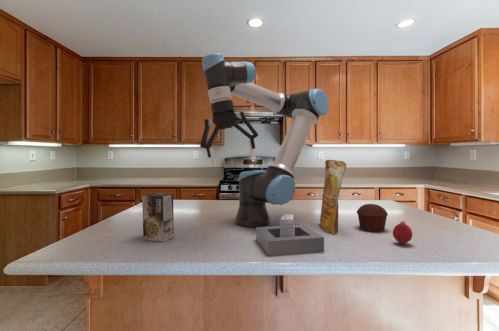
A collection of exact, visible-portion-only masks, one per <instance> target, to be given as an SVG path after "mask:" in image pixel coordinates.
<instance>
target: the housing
mask: <svg viewBox="0 0 499 331" xmlns="http://www.w3.org/2000/svg"><path fill="white" fill-rule="evenodd" d="M255 241H256V242H257V243H258V245H259V246H260V247H261V249H262V250H263V251H264V252H265V254H266V255H267V256H268V257H273V256H275V257H276V256H277V257H278V256H288V255H300V254H311V253H315V254H316V253H324V252H325V237H324V236H323V235H321V234H319V233H318V232H316V231H315V230H313V229H312V228H310V227H309V226H307V225H305V224H295V236H293V237H280V225H277V226H276V225H275V226H260V227H255Z"/></svg>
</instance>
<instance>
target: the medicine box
mask: <svg viewBox="0 0 499 331" xmlns="http://www.w3.org/2000/svg"><path fill="white" fill-rule="evenodd" d="M295 217H296V216H295V214H290V213H289V214H287V213H285V214H282V215H281V217H280V220H279V226H280V237H293V236H295V225H296V222H295V221H296V220H295Z"/></svg>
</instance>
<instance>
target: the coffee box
mask: <svg viewBox="0 0 499 331" xmlns="http://www.w3.org/2000/svg"><path fill="white" fill-rule="evenodd" d="M141 200H142V201H141V205H142V231H143V233H142V235H143V240H144V241H152V242H153V241H154V242H162V243H165V242H167V241H169V240H171V239H174V238H175V230H174V229H175V227H174V218H175V217H174V193H163V192H152V193H148V194H144V195H142V196H141Z"/></svg>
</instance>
